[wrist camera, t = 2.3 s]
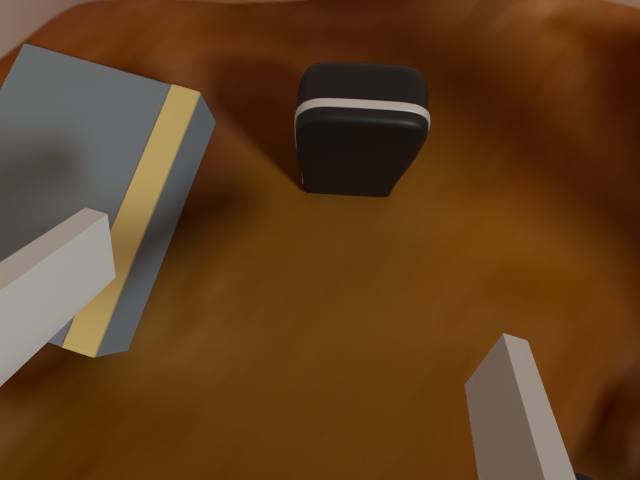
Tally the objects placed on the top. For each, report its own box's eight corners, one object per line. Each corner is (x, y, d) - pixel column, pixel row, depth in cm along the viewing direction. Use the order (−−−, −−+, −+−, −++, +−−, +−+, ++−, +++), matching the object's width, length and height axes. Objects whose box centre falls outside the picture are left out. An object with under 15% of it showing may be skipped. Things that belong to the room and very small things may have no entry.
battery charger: (392, 152, 29) (441, 52, 18) (391, 199, 28) (441, 125, 17) (303, 147, 29) (295, 43, 18) (299, 194, 28) (289, 116, 17)
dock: (215, 122, 29) (199, 92, 25) (128, 350, 26) (93, 357, 22) (62, 78, 30) (22, 41, 26) (-43, 295, 27) (-108, 292, 22)
